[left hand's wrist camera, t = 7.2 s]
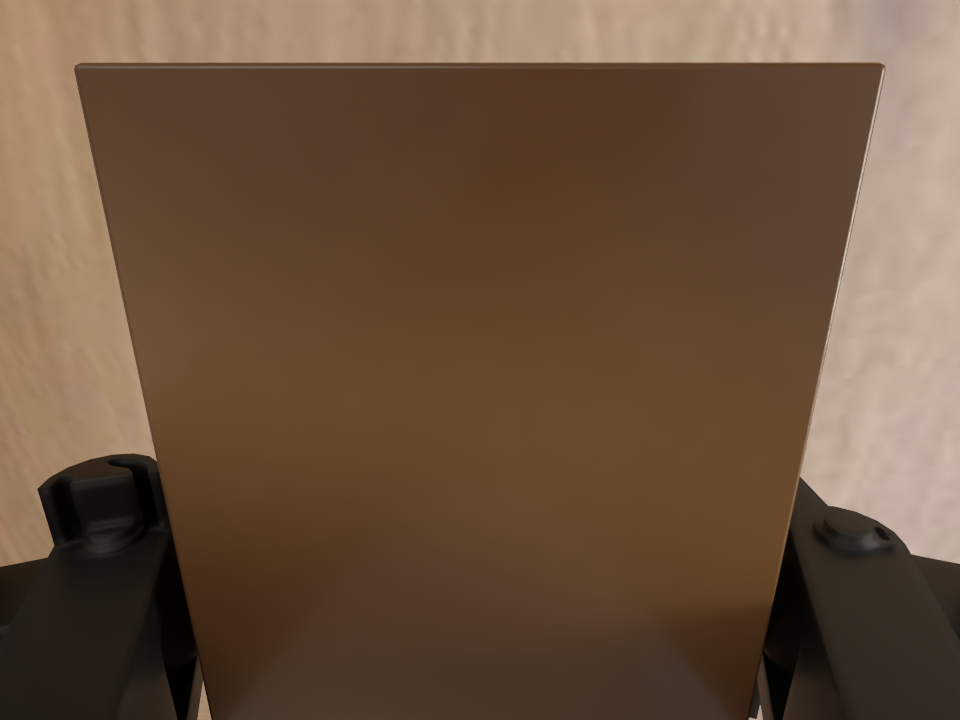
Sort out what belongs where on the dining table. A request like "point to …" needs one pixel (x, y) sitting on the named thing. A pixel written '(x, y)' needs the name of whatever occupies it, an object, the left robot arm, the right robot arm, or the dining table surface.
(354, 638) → the brown wooden beam
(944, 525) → the dining table surface
